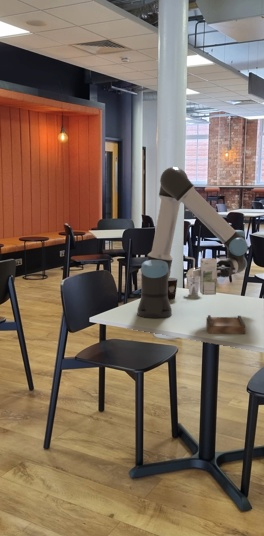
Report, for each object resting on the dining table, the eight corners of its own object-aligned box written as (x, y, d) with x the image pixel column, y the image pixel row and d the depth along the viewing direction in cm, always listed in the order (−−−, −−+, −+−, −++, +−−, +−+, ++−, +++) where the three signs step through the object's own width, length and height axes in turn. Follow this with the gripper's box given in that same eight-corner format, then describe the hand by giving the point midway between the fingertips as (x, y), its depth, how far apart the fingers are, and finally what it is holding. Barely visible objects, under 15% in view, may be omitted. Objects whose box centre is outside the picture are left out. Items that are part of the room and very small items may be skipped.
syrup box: (213, 292, 221) (213, 257, 219) (216, 294, 215) (216, 259, 213) (199, 292, 221) (200, 257, 219) (202, 295, 215) (202, 259, 213)
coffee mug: (177, 296, 271) (177, 277, 269) (177, 300, 262) (177, 280, 261) (154, 296, 272) (154, 277, 270) (153, 300, 263) (153, 280, 262)
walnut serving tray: (208, 333, 203) (208, 323, 203) (206, 324, 217) (206, 314, 216) (245, 334, 202) (245, 323, 201) (240, 324, 216) (241, 315, 215)
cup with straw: (201, 296, 273) (202, 257, 270) (183, 295, 274) (184, 257, 271) (202, 292, 281) (202, 255, 278) (184, 292, 282) (185, 255, 279)
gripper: (248, 278, 226) (226, 286, 208) (205, 274, 238) (180, 281, 219) (249, 260, 225) (227, 267, 207) (205, 257, 237) (180, 263, 218)
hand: (203, 274), depth 213 cm, fingers closed on syrup box, 8 cm apart
